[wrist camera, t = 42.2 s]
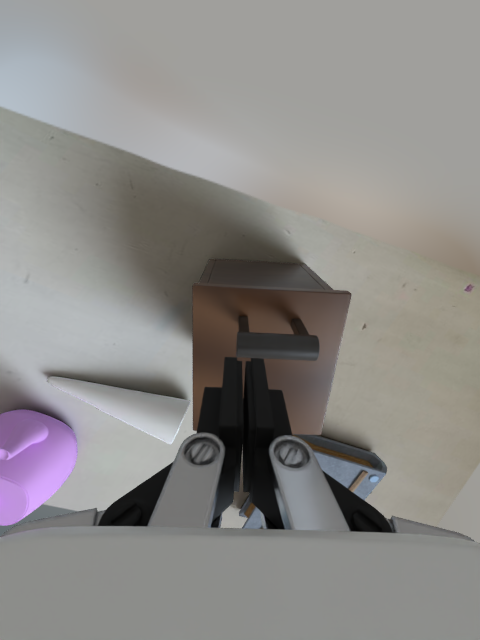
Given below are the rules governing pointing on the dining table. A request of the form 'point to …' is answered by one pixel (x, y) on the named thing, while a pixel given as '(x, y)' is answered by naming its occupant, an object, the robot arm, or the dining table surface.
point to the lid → (271, 343)
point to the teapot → (32, 461)
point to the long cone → (130, 406)
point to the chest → (262, 274)
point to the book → (334, 471)
